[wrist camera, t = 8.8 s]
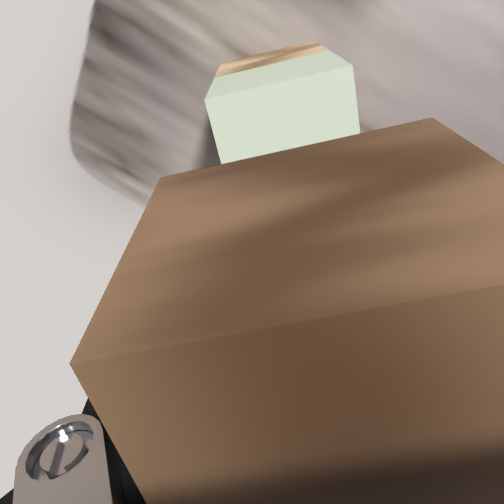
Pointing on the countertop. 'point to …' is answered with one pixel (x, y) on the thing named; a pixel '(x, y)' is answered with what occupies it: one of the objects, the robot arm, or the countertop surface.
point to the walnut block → (312, 328)
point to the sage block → (282, 106)
